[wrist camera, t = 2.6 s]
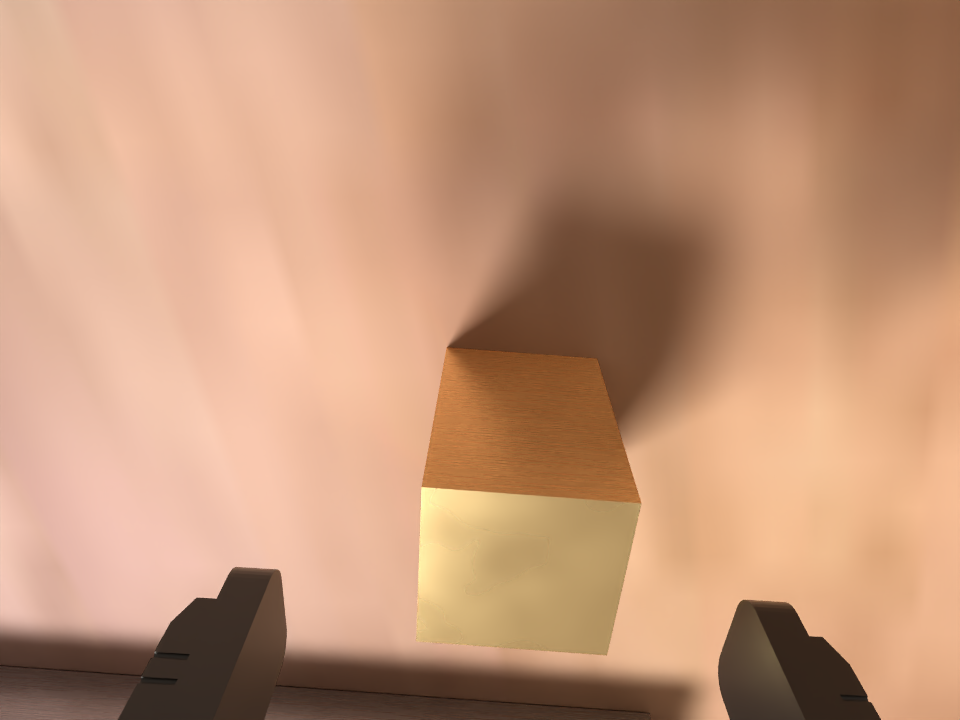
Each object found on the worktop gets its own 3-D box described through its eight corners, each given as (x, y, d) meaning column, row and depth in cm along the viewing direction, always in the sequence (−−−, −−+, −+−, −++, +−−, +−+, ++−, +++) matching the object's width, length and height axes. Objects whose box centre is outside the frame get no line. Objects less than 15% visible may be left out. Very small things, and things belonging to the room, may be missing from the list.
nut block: (596, 358, 17) (641, 503, 12) (576, 480, 19) (607, 655, 13) (447, 346, 17) (421, 486, 12) (440, 470, 19) (416, 641, 13)
